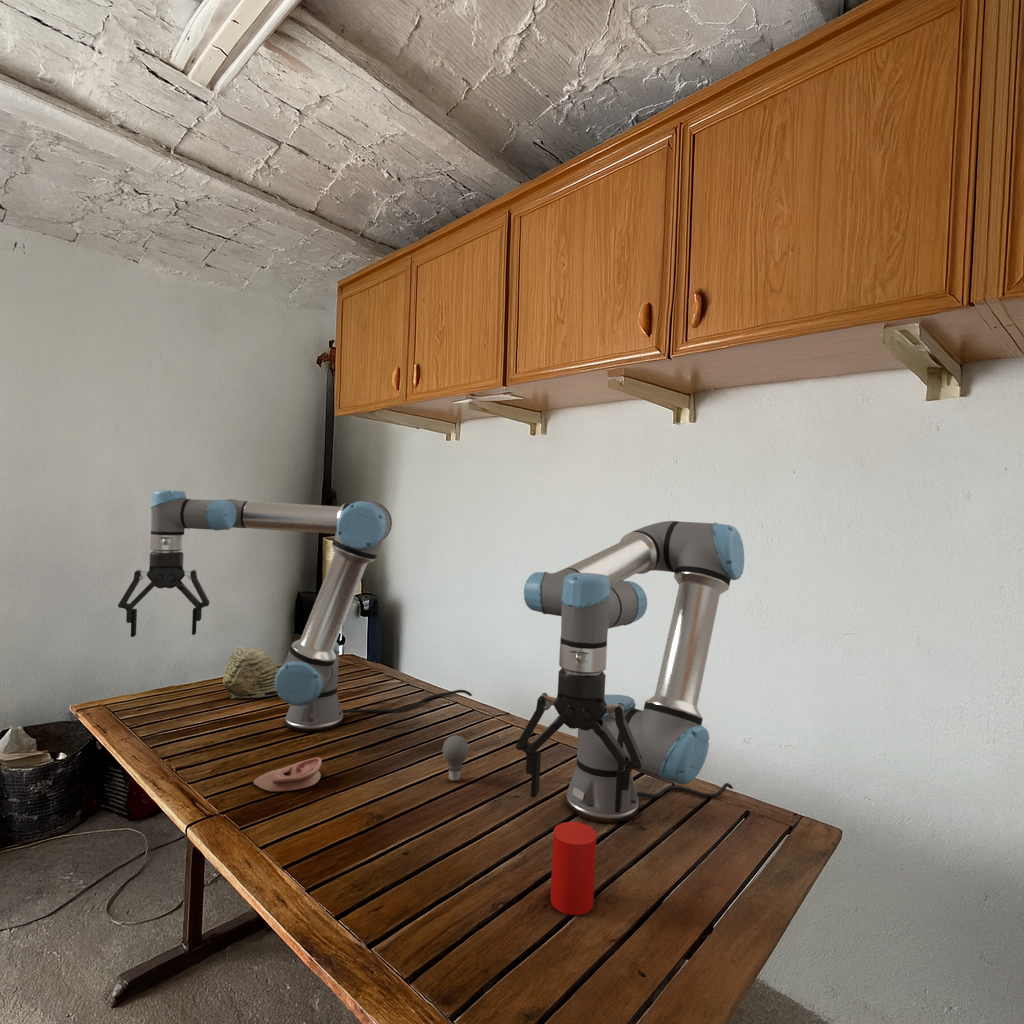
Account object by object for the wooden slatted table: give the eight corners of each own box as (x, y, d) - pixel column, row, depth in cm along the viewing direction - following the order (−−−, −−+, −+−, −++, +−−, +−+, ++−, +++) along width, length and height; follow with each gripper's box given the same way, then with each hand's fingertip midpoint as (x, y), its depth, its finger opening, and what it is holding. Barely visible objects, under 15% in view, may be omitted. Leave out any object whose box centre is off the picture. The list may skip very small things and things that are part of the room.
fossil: (218, 695, 195) (220, 647, 195) (278, 685, 208) (279, 640, 207) (228, 703, 189) (230, 653, 188) (289, 692, 201) (290, 645, 201)
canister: (541, 900, 102) (544, 831, 102) (568, 883, 107) (571, 817, 107) (575, 921, 97) (578, 849, 97) (601, 902, 102) (605, 833, 102)
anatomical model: (245, 769, 136) (276, 749, 147) (245, 787, 136) (275, 766, 147) (302, 777, 133) (328, 756, 144) (301, 796, 133) (328, 773, 144)
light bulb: (441, 773, 147) (443, 731, 147) (467, 774, 147) (469, 731, 147) (440, 785, 141) (442, 741, 141) (467, 785, 141) (469, 741, 141)
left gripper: (106, 552, 152) (103, 639, 153) (220, 553, 161) (217, 636, 162) (113, 549, 159) (110, 633, 160) (222, 550, 168) (219, 629, 169)
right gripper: (501, 666, 102) (495, 797, 102) (660, 686, 95) (653, 826, 95) (514, 656, 109) (508, 778, 109) (662, 673, 102) (656, 804, 102)
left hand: (164, 634), depth 161 cm, fingers open, 13 cm apart
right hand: (575, 801), depth 102 cm, fingers open, 13 cm apart
